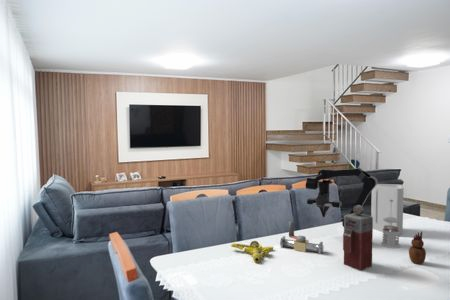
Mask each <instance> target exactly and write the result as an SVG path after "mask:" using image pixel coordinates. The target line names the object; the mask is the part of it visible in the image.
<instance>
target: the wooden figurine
mask: <svg viewBox="0 0 450 300" xmlns="http://www.w3.org/2000/svg"><path fill="white" fill-rule="evenodd" d="M410 245H411V246H410V247H409V249H408V257H409V260H410V261H411V262H412V263H414V264H416V265H423V264H424V262H425V260H426V255H427V253H426V252H427V251H426V249H425V248H424V246H425V245H424V241H423V230H421V231H420V232H419V231H418V232H417V234H415V235H414V236H413V239H412V240H411V243H410Z"/></svg>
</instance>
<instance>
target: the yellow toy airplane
mask: <svg viewBox="0 0 450 300" xmlns="http://www.w3.org/2000/svg"><path fill="white" fill-rule="evenodd" d="M230 247H232V248H236V249H239V250H241V251H242V250H244V252H245V253H248V255H252V259H253V262H255V263H259V262H260V261H261V259H262V260H264V258H263V256H267V255H269V253H270V251H273V250H274V246H262V245H261V244H260V243H259V242H258V241H257V240H252V241H251V242H250V243H249V245H248V244H241V243H236V242H235V243H231V244H230Z"/></svg>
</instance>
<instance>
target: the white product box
mask: <svg viewBox="0 0 450 300" xmlns="http://www.w3.org/2000/svg"><path fill="white" fill-rule="evenodd" d="M390 199H392V200H393V202H390V201H389V200H390ZM370 206H371V214H370V216H372V217H373V230H376V231H379V232H382V233H383V229H384V226H385V225H390V226H391V222H386V221H384V220H383V218H385V217H394V218H397V219H398V220H399V222H397V223H392V226H395V227H398V229H397V230H399V235H398V236H399V237H401V236H403V235H404V234H403V230H404V228H403V227H404V224H403V223H404V185H403V184H400V183H399V184H396V183H395V184H394V183H393V184H392V183H390V184H389V183H378V184H377V185H376V186H375V188H374V189H373V190H372V191H371V205H370ZM389 232H391V230H389Z"/></svg>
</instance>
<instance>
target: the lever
mask: <svg viewBox="0 0 450 300" xmlns="http://www.w3.org/2000/svg"><path fill="white" fill-rule="evenodd" d="M288 237H289V238H290V239H292V240H297V241H299V242H305V241H306V240H307V238H306V236H305V235H298V236H297V235H295V221H294V220H293V221H292V220H290V221H288Z"/></svg>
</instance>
